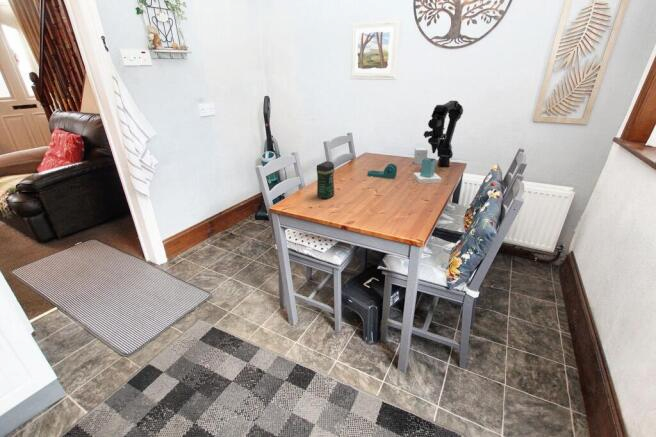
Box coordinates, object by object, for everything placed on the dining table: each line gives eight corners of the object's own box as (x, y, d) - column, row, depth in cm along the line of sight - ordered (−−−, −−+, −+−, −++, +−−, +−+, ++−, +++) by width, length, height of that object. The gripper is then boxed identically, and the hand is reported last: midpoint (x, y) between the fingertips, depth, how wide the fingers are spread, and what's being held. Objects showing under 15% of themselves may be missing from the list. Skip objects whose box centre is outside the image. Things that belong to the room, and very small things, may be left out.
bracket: (396, 176, 192) (397, 163, 189) (394, 179, 187) (395, 166, 183) (369, 173, 199) (369, 161, 195) (366, 176, 193) (366, 164, 190)
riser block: (433, 176, 191) (433, 172, 189) (440, 183, 179) (441, 178, 178) (412, 177, 190) (413, 172, 189) (419, 184, 179) (419, 179, 177)
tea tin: (424, 173, 187) (426, 157, 183) (433, 175, 183) (436, 159, 179) (420, 175, 183) (422, 159, 179) (429, 177, 179) (431, 161, 175)
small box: (424, 162, 218) (426, 148, 214) (426, 164, 213) (428, 149, 209) (413, 162, 219) (414, 148, 215) (414, 164, 214) (416, 149, 210)
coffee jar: (327, 200, 158) (326, 165, 150) (315, 197, 161) (313, 163, 153) (336, 194, 165) (336, 161, 157) (324, 192, 169) (323, 159, 161)
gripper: (430, 123, 197) (428, 147, 204) (421, 127, 183) (418, 153, 190) (448, 124, 191) (444, 149, 198) (439, 129, 178) (436, 155, 184)
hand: (435, 151), depth 193 cm, fingers open, 9 cm apart
